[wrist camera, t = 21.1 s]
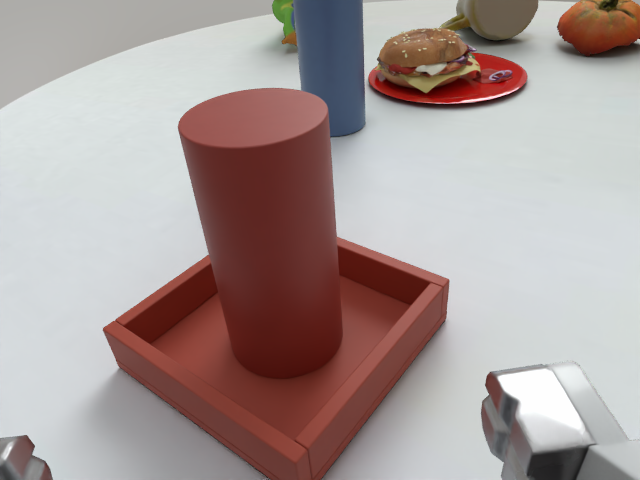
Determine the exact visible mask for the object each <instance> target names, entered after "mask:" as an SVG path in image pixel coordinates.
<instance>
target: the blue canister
mask: <svg viewBox="0 0 640 480" xmlns="http://www.w3.org/2000/svg"><path fill="white" fill-rule="evenodd" d="M293 6H294V17H295V27H296V38H297V48H298V59H299V70H300V80H301V91H304V92H308V93H311V94H313V95H316V96H318V97H319V98H321V99H322V100H323V101H324V102H325V103H326V105H327V107H328V113H329V128H330V136H331V137H332V136H343V135H348V134H351V133H354V132H356V131H358V130H360V129H361V128H363V126H364V125H365V87H364V43H363V0H293Z"/></svg>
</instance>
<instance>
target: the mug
mask: <svg viewBox="0 0 640 480" xmlns="http://www.w3.org/2000/svg"><path fill="white" fill-rule="evenodd" d="M537 8H538V0H458V3H457V6H456V11H457V16H456V17H454V18H452V19H450V20H448V21H447V22H445V23H444V24H442V25H441V26H440V27H441V28H443V29H448V30H451V31H456V30H459V29H462V28H465V27H471V28H472V29H473V30H474V31H475V32H476V33H477V34H478V35H480V36H482V37H484V38H486V39H490V40H504V39H508V38H511V37H513V36H516V35H517V34H519V33H521V32H522V31H523V30H524V29H525V28H526V27H527V26H528V25H529V23H530V22H531V20H532V19H533V17H534V15H535V13H536V11H537Z"/></svg>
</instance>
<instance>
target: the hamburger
mask: <svg viewBox="0 0 640 480" xmlns="http://www.w3.org/2000/svg"><path fill="white" fill-rule="evenodd" d="M412 30H413V31H409V32H405V33H403V32H401V34H400V35H398V36H395V37H393V38H392V37H391V39H389V40H387V42H386V43H385V45H384V47H383V48H382V49H381V51H380V54H379V57H378V59H377V60H378V61H379V63H378V66H377V67H375V68H374V69H373V70H372V71H371V72H370V74H369V77H368V79H369V82H370V84H371V85H372V86H373V87H374V88H375V89H376V90H378V91H380V92H382V93H384V94H386V95H389V96H392V97H395V98H399V99H403V100H408V101H415V102H423V103H437V104H455V103H470V102H478V101H484V100H489V99H494V98H498V97H501V96H504V95H507V94H510V93H512V92H514V91H516V90H518V89H519V88H521V87H522V86H523V85H524V84H525V82H526V81H527V73H526V71H525V70H524V69H523V68H522V67H521V66H519V65H518V64H516V63H514V62H512V61H509V60H506V59H503V58H500V57H496V56H492V55H487V54H481V53H472V52H474V51H476V49H475V48H472V47H471V46H469V45H467V44H465V43H463V42H462V40H461V39H460V38H459V36H461V35H459V34H456V33H455V32H454V31H451V30H448V29H443V28H441V27H439V28H438V29H436V28H433V29H417V30H415V29H412ZM469 48H470V49H469ZM471 49H472V50H471Z"/></svg>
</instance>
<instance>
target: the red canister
mask: <svg viewBox="0 0 640 480" xmlns="http://www.w3.org/2000/svg"><path fill="white" fill-rule="evenodd" d="M178 130H179V134H180V139H181V143H182V147H183V151H184V155H185V159H186V163H187V167H188V171H189V175H190V179H191V183H192V187H193V192H194V196H195V200H196V204H197V208H198V212H199V216H200V220H201V224H202V228H203V232H204V236H205V240H206V245H207V249H208V253H209V257H210V261H211V265H212V269H213V273H214V277H215V281H216V285H217V289H218V293H219V298H220V302H221V306H222V310H223V314H224V318H225V322H226V326H227V330H228V334H229V338H230V342H231V346H232V350H233V353H234V355H235V357H236V359H237V360H238V361H239V362H240V364H241V365H242V366H244V367H245V368H246V369H248V370H249V371H251V372H253V373H255V374H258V375H260V376H264V377H269V378H280V379H282V378H293V377H298V376H302V375H305V374H308V373H310V372H313V371H314V370H316V369H318V368H320V367H321V366H323V365H324V364H326V363H327V362H328V361H329V360H330V359H331V358H332V357H333V356H334V355H335V353H336V352H337V350H338V348H339V346H340V344H341V341H342V337H343V326H342V311H341V296H340V280H339V265H338V250H337V235H336V219H335V204H334V189H333V174H332V158H331V143H330V128H329V113H328V107H327V105H326V103H325V102H324V101H323V100H322V99H321V98H319V97H318V96H316V95H313V94H311V93H308V92H304V91H300V90H294V89H284V88H261V89H251V90H243V91H237V92H233V93H228V94H225V95H221V96H218V97H215V98H212V99H209V100H207V101H204V102H202V103H200V104H198V105H196V106H195V107H193V108H191V109H190V110H189V111H187V112H186V113H185V114H184V115H183V116H182V118H181V119H180V121H179V125H178Z"/></svg>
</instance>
